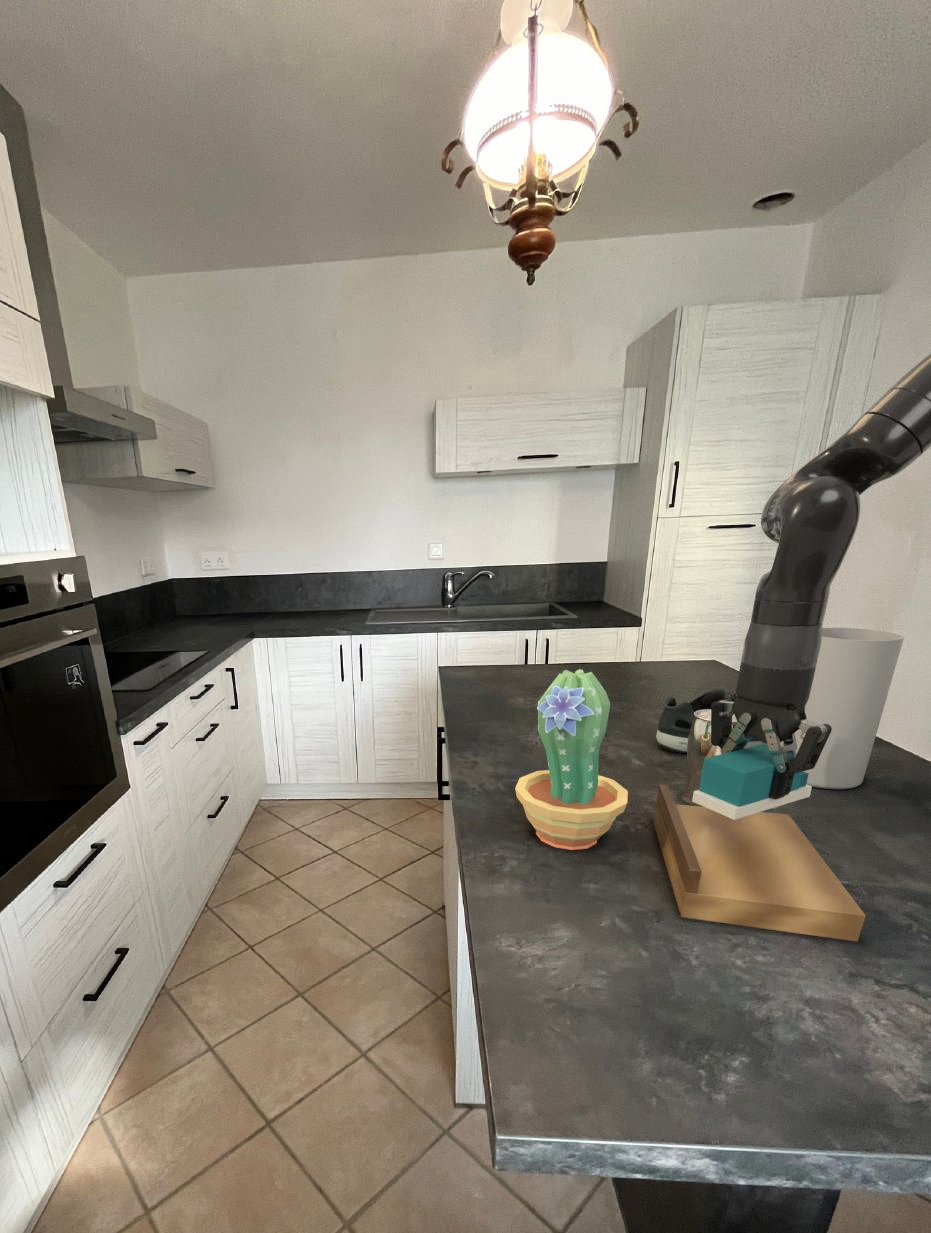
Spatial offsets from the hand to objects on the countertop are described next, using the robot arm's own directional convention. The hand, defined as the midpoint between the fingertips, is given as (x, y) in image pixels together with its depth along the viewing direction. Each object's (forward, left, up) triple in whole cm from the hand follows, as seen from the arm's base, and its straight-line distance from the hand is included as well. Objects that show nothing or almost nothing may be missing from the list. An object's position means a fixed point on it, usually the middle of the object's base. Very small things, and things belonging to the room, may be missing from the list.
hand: (752, 788), depth 77 cm
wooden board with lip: (+1, +5, -10) cm, 12 cm away
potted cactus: (+22, 0, -11) cm, 25 cm away
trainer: (0, 0, -2) cm, 2 cm away
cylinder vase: (-20, -33, -11) cm, 40 cm away
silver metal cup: (+1, -17, -11) cm, 20 cm away
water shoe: (-9, -47, -11) cm, 49 cm away
